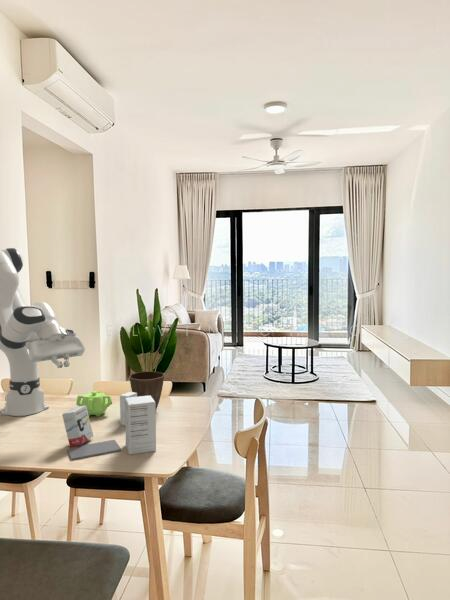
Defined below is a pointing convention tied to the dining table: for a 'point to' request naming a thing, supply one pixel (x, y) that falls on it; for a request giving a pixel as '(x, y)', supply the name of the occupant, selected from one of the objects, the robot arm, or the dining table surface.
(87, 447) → the slate tile
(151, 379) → the plant pot
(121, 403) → the skincare box
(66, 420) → the ink box
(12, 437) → the dining table surface
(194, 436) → the dining table surface
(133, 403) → the supplement box
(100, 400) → the teapot
